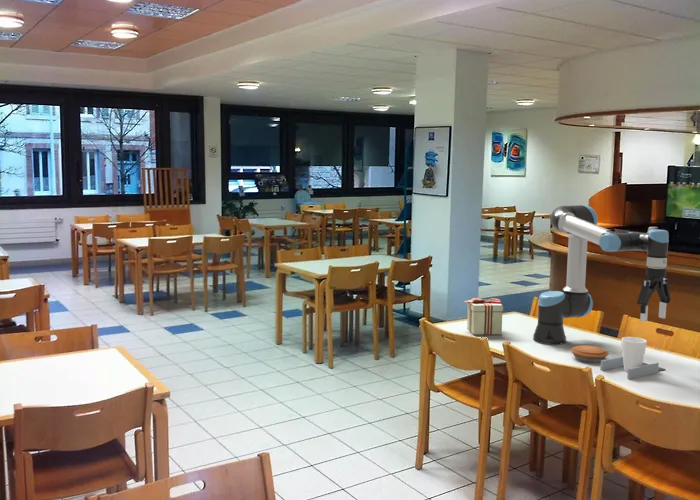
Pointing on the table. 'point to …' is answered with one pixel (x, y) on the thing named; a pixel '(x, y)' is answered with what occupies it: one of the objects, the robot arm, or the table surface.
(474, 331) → the gift box
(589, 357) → the pie
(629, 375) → the channel
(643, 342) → the foam cup
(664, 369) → the trap mat
